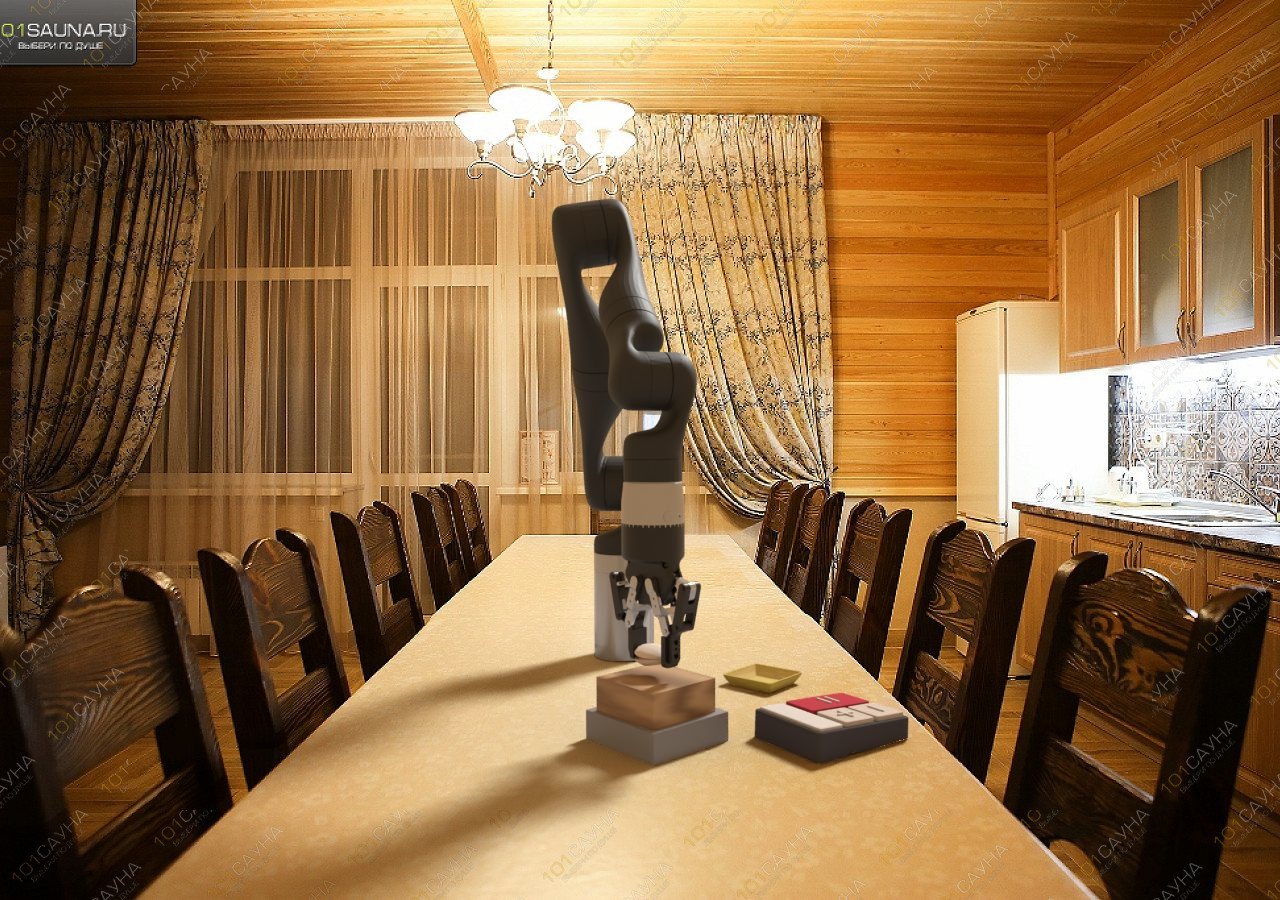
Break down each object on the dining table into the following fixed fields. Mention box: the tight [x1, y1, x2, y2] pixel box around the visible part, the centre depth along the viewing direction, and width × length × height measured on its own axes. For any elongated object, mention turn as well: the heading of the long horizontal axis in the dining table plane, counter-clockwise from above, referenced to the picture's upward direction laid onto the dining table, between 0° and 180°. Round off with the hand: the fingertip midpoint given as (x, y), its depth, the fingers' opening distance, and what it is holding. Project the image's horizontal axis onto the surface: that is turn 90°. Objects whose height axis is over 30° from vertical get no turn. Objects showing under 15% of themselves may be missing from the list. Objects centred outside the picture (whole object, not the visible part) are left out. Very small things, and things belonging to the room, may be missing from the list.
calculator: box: [754, 692, 909, 765], centre depth 103 cm, size 11×4×15 cm
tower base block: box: [585, 706, 729, 767], centre depth 103 cm, size 12×12×4 cm
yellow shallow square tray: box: [722, 663, 803, 694], centre depth 126 cm, size 9×9×2 cm
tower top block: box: [595, 664, 716, 730], centre depth 103 cm, size 10×10×4 cm
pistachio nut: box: [634, 642, 661, 666], centre depth 103 cm, size 4×5×2 cm
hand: (653, 661), depth 103 cm, fingers closed on pistachio nut, 5 cm apart
